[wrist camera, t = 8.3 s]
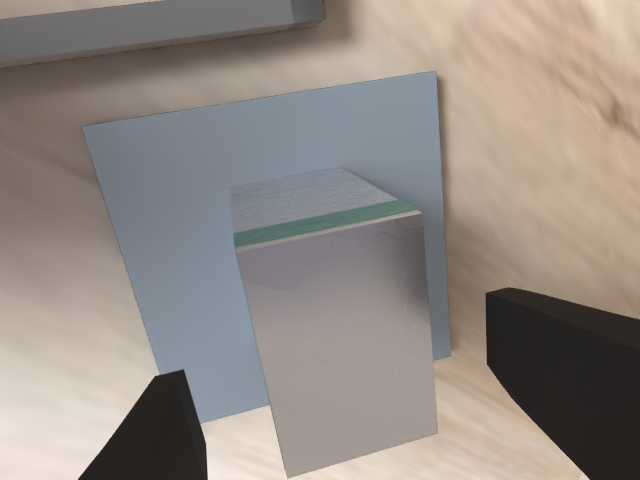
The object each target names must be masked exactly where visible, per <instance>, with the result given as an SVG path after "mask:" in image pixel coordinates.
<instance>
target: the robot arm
mask: <svg viewBox="0 0 640 480" xmlns="http://www.w3.org/2000/svg"><path fill="white" fill-rule="evenodd" d="M486 341H487V365H488V366H489V368H490V369H491V371H492V372H493V373H494V375H495V376H496V378H497V379H498V380H499V382H500V383H501V385H502V386H503V387H504V388H505V390H506V391H507V392H508V394H509V395H510V396H511V398H512V399H513V400H514V401H515V402H516V403H517V404H518V405H519V406H520V407H521V409H522V410H523V411H524V412H525V413H526V414H527V415H528V416H529V417H530V418H531V419H532V420H533V421H534V422H535V423H536V424H537V425H538V426H539V427H540V428H541V429H542V430H543V431H544V433H545V434H546V435H547V436H548V437H549V438H550V439H551V440H552V441H553V442H554V443H555V444H556V445H557V446H558V447H559V448H560V449H561V450H562V451H563V452H564V453H565V454H566V455H567V456H568V457H569V458H570V459H571V460H572V461H573V462H574V463H575V464H576V465H577V467H578V468H579V469H580V470H581V471H582V472H583V473H584V474H585V475H586V476H587V477H588V478H589V479H590V480H640V320H639V319H635V318H630V317H626V316H622V315H618V314H614V313H610V312H606V311H602V310H599V309H595V308H591V307H587V306H583V305H580V304H576V303H572V302H569V301H565V300H561V299H557V298H554V297H550V296H546V295H542V294H538V293H534V292H530V291H525V290H521V289H515V288H509V287H508V288H504V289H500V290H496V291H492V292H488V293H486ZM78 480H208V476H207V456H206V442H205V439H204V435H203V432H202V429H201V425H200V422H199V418H198V415H197V412H196V408H195V405H194V402H193V398H192V395H191V391H190V388H189V385H188V381H187V378H186V375H185V371H184V369H182V370H178V371H174V372H170V373H166V374H162V375H158V376H155V377H154V378H153V380H152V381H151V382H150V384H149V385H148V387H147V388H146V389H145V391H144V392H143V394H142V395H141V396H140V398H139V399H138V401H137V402H136V403H135V405H134V406H133V408H132V409H131V410H130V412H129V413H128V415H127V416H126V418H125V419H124V420H123V422H122V423H121V425H120V426H119V427H118V429H117V430H116V431H115V433H114V434H113V435H112V437H111V438H110V439H109V441H108V442H107V443H106V445H105V446H104V448H103V449H102V450H101V451H100V453H99V454H98V455H97V456H96V457H95V459H94V460H93V461H92V462H91V464H90V465H89V466H88V467H87V469H86V470H85V471H84V472H83V474H82V475H81V476H80V477H79V479H78Z"/></svg>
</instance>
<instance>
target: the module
mask: <svg viewBox="0 0 640 480" xmlns="http://www.w3.org/2000/svg"><path fill="white" fill-rule="evenodd" d="M228 192H229V199H230V207H231V215H232V223H233V231H234V233H233V239H234V247H235V252H236V256H237V261H238V265H239V269H240V274H241V278H242V283H243V287H244V291H245V296H246V300H247V305H248V309H249V313H250V318H251V322H252V327H253V331H254V336H255V340H256V344H257V349H258V353H259V358H260V362H261V366H262V371H263V375H264V380H265V384H266V389H267V393H268V397H269V402H270V406H271V411H272V415H273V419H274V424H275V428H276V433H277V437H278V442H279V446H280V450H281V455H282V459H283V464H284V468H285V470H286V475H287V479H288V478H291V477H294V476H298V475H301V474H304V473H308V472H311V471H314V470H318V469H321V468H324V467H328V466H331V465H334V464H338V463H341V462H344V461H348V460H351V459H354V458H358V457H361V456H364V455H368V454H371V453H374V452H378V451H381V450H384V449H388V448H391V447H394V446H397V445H401V444H404V443H407V442H411V441H414V440H417V439H421V438H424V437H427V436H431V435H434V434H437V433H438V425H437V411H436V397H435V383H434V368H433V354H432V340H431V326H430V312H429V298H428V284H427V269H426V255H425V241H424V227H423V213H422V212H420V211H418V210H417V208H415V207H413V206H412V205H410V204H408V203H406V202H404V201H403V200H401V199H397V198H395V197H393V196H391V195H389V194H388V193H386V192H384V191H382V190H380V189H379V188H377V187H375V186H373V185H371V184H370V183H368V182H366V181H364V180H363V179H361V178H359V177H357V176H355V175H354V174H352V173H350V172H348V171H346V170H345V169H343V168H341V167H339V166H336V167H331V168H325V169H320V170H315V171H310V172H304V173H299V174H294V175H288V176H283V177H278V178H272V179H267V180H262V181H256V182H251V183H246V184H241V185H235V186H230V187H228Z"/></svg>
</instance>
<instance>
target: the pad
mask: <svg viewBox="0 0 640 480" xmlns="http://www.w3.org/2000/svg"><path fill="white" fill-rule="evenodd" d="M81 128H82V132H83V135H84V138H85V141H86V144H87V147H88V150H89V153H90V157H91V160H92V163H93V166H94V169H95V172H96V175H97V179H98V182H99V185H100V188H101V191H102V194H103V197H104V201H105V204H106V207H107V210H108V213H109V216H110V219H111V222H112V226H113V229H114V232H115V235H116V238H117V241H118V244H119V248H120V251H121V254H122V257H123V260H124V263H125V266H126V270H127V273H128V276H129V279H130V282H131V285H132V288H133V291H134V295H135V298H136V301H137V304H138V307H139V310H140V313H141V317H142V320H143V323H144V326H145V329H146V332H147V335H148V339H149V342H150V345H151V348H152V351H153V354H154V357H155V360H156V364H157V367H158V370H159V373H160V375H162V374H166V373H170V372H174V371H178V370H182V369H184V371H185V375H186V378H187V381H188V385H189V388H190V391H191V395H192V398H193V402H194V405H195V408H196V412H197V415H198V418H199V422H200V424H201V423H205V422H208V421H212V420H216V419H219V418H223V417H227V416H230V415H234V414H238V413H242V412H245V411H249V410H253V409H256V408H260V407H264V406H267V405H270V402H269V397H268V393H267V389H266V384H265V380H264V375H263V371H262V366H261V362H260V358H259V353H258V349H257V344H256V340H255V336H254V331H253V327H252V322H251V318H250V313H249V309H248V305H247V300H246V296H245V291H244V287H243V283H242V278H241V274H240V269H239V265H238V261H237V256H236V252H235V247H234V239H233V233H234V231H233V223H232V215H231V207H230V199H229V192H228V187H230V186H235V185H241V184H246V183H251V182H256V181H262V180H267V179H272V178H278V177H283V176H288V175H294V174H299V173H304V172H310V171H315V170H320V169H325V168H331V167H336V166H339V167H341V168H343V169H345V170H346V171H348V172H350V173H352V174H354V175H355V176H357V177H359V178H361V179H363V180H364V181H366V182H368V183H370V184H371V185H373V186H375V187H377V188H379V189H380V190H382V191H384V192H386V193H388V194H389V195H391V196H393V197H395V198H397V199H401V200H403V201H404V202H406V203H408V204H410V205H412V206H413V207H415V208H417V210H418V211H420V212H422V213H423V227H424V241H425V255H426V269H427V284H428V298H429V312H430V326H431V340H432V354H433V361H434V360H438V359H441V358H445V357H449V356H451V344H450V325H449V306H448V287H447V267H446V248H445V229H444V210H443V191H442V172H441V152H440V133H439V114H438V95H437V76H436V71H431V72H424V73H418V74H412V75H405V76H399V77H392V78H386V79H380V80H373V81H367V82H360V83H354V84H348V85H341V86H335V87H328V88H322V89H316V90H309V91H303V92H296V93H290V94H284V95H277V96H271V97H264V98H258V99H252V100H245V101H239V102H232V103H226V104H220V105H213V106H207V107H201V108H194V109H188V110H181V111H175V112H169V113H162V114H156V115H149V116H143V117H137V118H130V119H124V120H117V121H111V122H105V123H98V124H92V125H86V126H81Z"/></svg>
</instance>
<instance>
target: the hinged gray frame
mask: <svg viewBox="0 0 640 480" xmlns="http://www.w3.org/2000/svg"><path fill="white" fill-rule="evenodd" d="M325 19H326V16H325V8H324V1H323V0H164V1H155V2H147V3H138V4H129V5H121V6H112V7H104V8H95V9H86V10H78V11H69V12H61V13H52V14H43V15H35V16H26V17H18V18H9V19H0V68H5V67H13V66H20V65H28V64H35V63H43V62H50V61H58V60H66V59H73V58H81V57H88V56H96V55H103V54H111V53H118V52H126V51H133V50H141V49H148V48H156V47H164V46H171V45H179V44H186V43H194V42H201V41H209V40H216V39H224V38H231V37H239V36H246V35H254V34H262V33H269V32H277V31H284V30H292V29H299V28H307V27H314V26H317V25H318V24H320V23H321V22H322V21H324V20H325Z"/></svg>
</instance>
